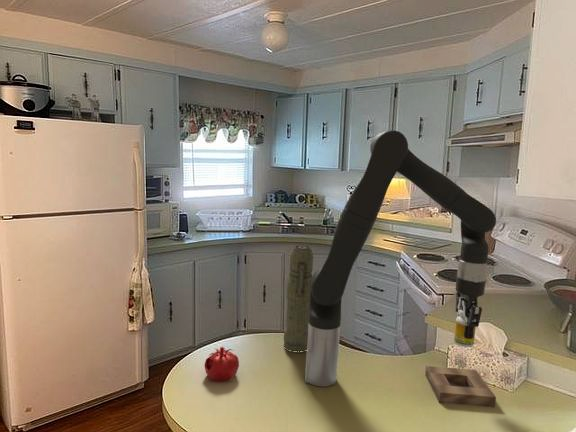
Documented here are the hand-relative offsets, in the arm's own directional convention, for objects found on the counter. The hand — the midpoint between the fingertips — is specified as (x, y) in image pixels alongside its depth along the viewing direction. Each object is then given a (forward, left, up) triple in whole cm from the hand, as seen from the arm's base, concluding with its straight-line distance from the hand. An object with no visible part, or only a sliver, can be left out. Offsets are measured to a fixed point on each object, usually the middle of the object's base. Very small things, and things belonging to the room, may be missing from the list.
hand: (464, 333), depth 124 cm
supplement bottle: (0, 0, -3) cm, 3 cm away
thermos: (-48, +20, -18) cm, 55 cm away
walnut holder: (0, 0, -17) cm, 17 cm away
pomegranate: (-69, -3, -18) cm, 71 cm away
